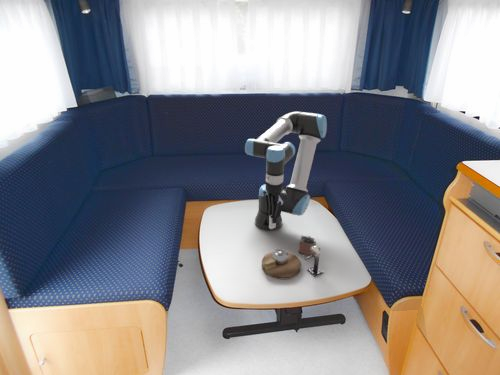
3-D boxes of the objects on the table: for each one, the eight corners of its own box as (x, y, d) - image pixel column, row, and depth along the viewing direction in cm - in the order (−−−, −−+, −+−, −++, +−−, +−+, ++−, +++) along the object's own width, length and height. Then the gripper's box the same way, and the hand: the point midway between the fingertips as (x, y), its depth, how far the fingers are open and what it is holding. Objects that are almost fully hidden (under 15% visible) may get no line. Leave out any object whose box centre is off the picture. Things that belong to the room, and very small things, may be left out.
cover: (269, 258, 162) (269, 250, 159) (281, 254, 165) (282, 245, 163) (278, 267, 156) (278, 258, 154) (290, 262, 160) (291, 253, 157)
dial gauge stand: (301, 273, 157) (304, 246, 150) (315, 267, 161) (318, 241, 154) (308, 279, 153) (311, 252, 147) (323, 273, 157) (326, 246, 151)
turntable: (254, 261, 163) (254, 253, 161) (284, 249, 172) (285, 241, 169) (277, 284, 149) (277, 275, 147) (308, 269, 158) (310, 261, 156)
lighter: (315, 253, 170) (317, 236, 165) (314, 257, 167) (316, 240, 163) (299, 250, 172) (300, 233, 168) (297, 254, 169) (299, 237, 165)
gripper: (258, 178, 152) (257, 223, 163) (276, 189, 143) (274, 237, 153) (272, 174, 156) (270, 219, 167) (290, 185, 146) (287, 232, 157)
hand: (272, 227), depth 160 cm, fingers closed
